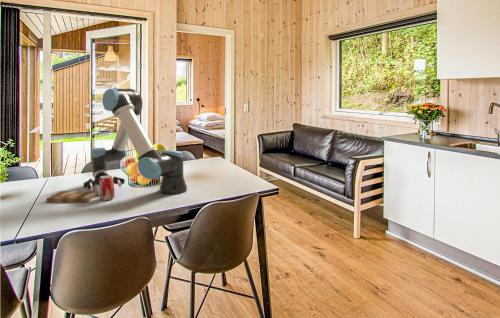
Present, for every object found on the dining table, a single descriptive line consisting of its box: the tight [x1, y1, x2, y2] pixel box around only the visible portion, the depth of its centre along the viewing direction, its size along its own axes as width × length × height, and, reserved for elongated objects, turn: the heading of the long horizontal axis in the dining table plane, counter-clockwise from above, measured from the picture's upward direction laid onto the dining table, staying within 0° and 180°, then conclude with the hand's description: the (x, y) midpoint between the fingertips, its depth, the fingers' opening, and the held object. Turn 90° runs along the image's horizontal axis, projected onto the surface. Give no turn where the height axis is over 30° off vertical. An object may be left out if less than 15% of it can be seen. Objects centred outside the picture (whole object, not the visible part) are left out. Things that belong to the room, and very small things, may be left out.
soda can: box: [98, 174, 115, 201], centre depth 180 cm, size 7×7×12 cm
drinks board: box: [46, 190, 99, 204], centre depth 181 cm, size 20×13×2 cm, turn 90°
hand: (106, 186), depth 179 cm, fingers open, 13 cm apart
